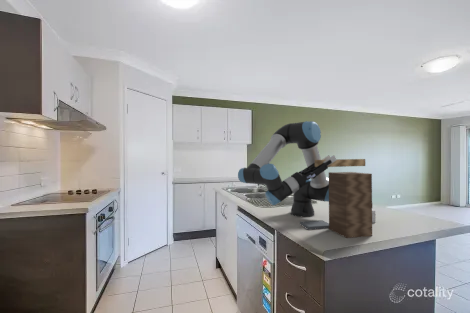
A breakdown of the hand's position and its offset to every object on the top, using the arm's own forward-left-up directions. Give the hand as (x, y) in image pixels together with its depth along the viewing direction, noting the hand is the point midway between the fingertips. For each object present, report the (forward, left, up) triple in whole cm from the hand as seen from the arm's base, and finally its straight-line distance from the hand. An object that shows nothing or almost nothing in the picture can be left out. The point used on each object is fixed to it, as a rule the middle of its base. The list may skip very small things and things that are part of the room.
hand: (332, 157), depth 116 cm
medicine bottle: (+3, +36, -38) cm, 53 cm away
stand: (+5, +8, -38) cm, 39 cm away
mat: (-12, +5, -38) cm, 40 cm away
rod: (+2, +4, -4) cm, 6 cm away
